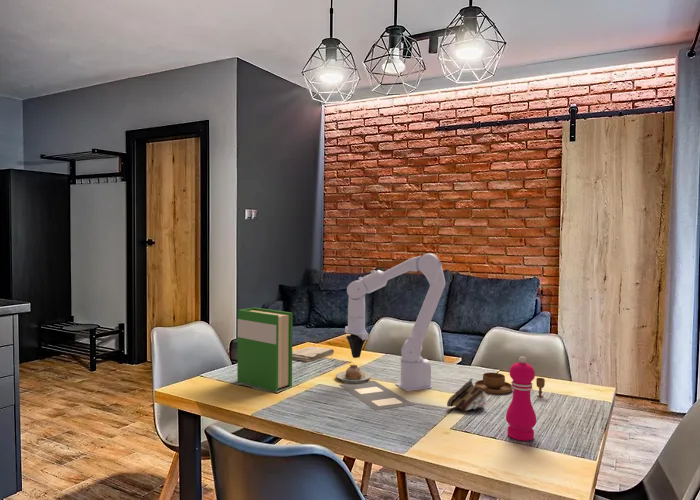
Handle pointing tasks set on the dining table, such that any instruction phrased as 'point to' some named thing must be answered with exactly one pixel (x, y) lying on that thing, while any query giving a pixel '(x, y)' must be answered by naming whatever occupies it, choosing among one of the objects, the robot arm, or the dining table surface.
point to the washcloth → (311, 353)
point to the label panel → (376, 395)
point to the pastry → (353, 375)
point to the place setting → (501, 384)
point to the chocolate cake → (468, 397)
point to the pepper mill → (521, 402)
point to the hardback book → (265, 348)
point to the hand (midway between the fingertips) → (356, 357)
